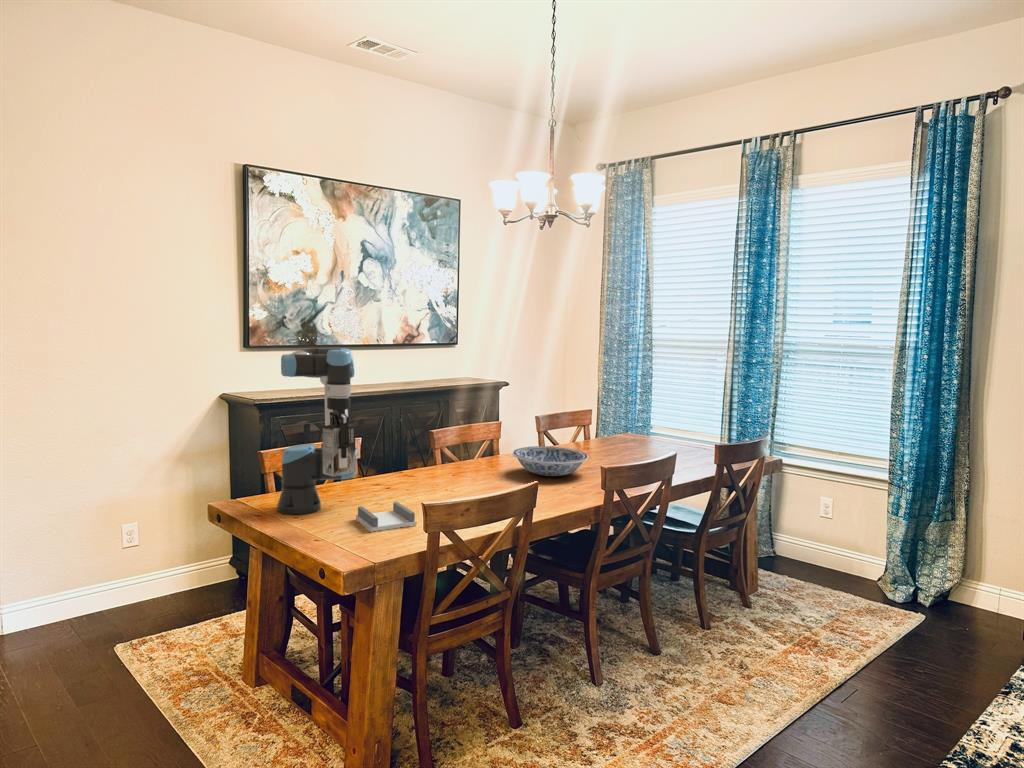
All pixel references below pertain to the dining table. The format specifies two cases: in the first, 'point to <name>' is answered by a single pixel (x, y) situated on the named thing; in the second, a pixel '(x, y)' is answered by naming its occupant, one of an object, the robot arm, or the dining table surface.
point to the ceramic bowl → (550, 460)
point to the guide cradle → (386, 518)
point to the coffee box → (337, 451)
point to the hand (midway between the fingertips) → (339, 465)
